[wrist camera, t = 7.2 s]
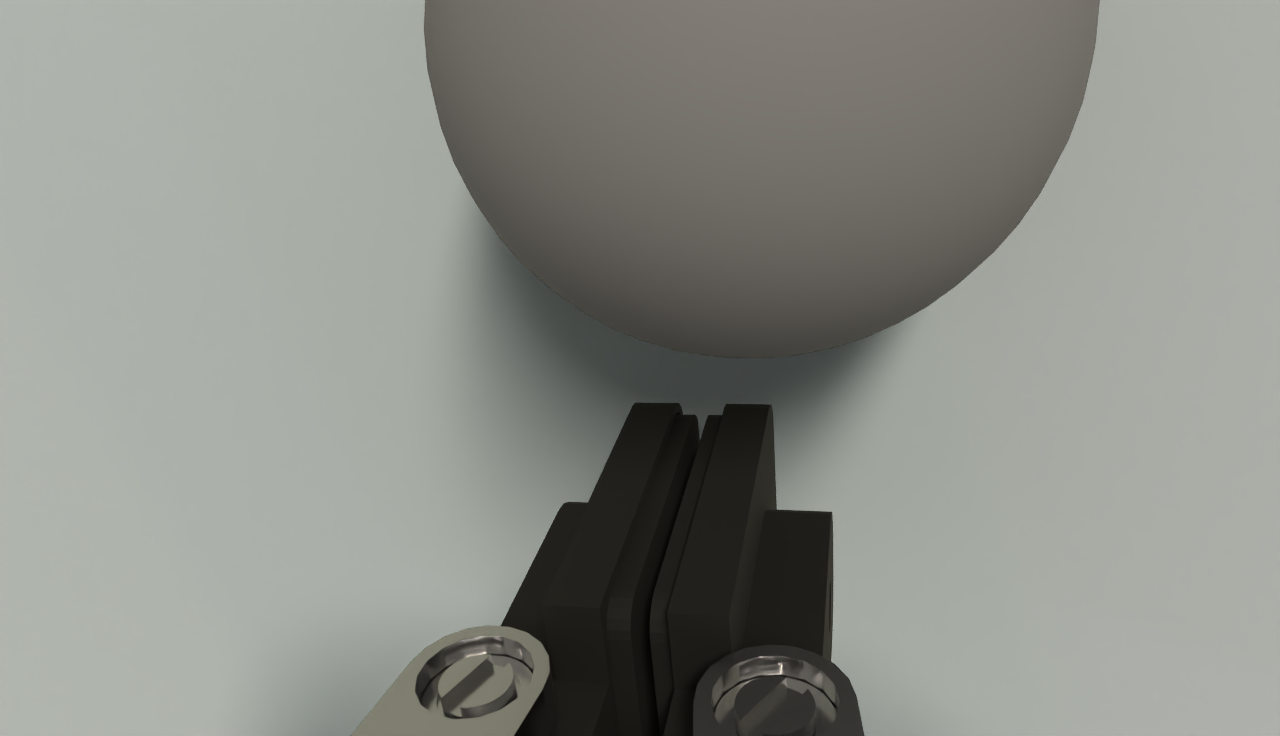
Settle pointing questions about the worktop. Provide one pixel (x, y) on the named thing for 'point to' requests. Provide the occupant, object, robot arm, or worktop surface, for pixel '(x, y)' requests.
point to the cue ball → (756, 152)
